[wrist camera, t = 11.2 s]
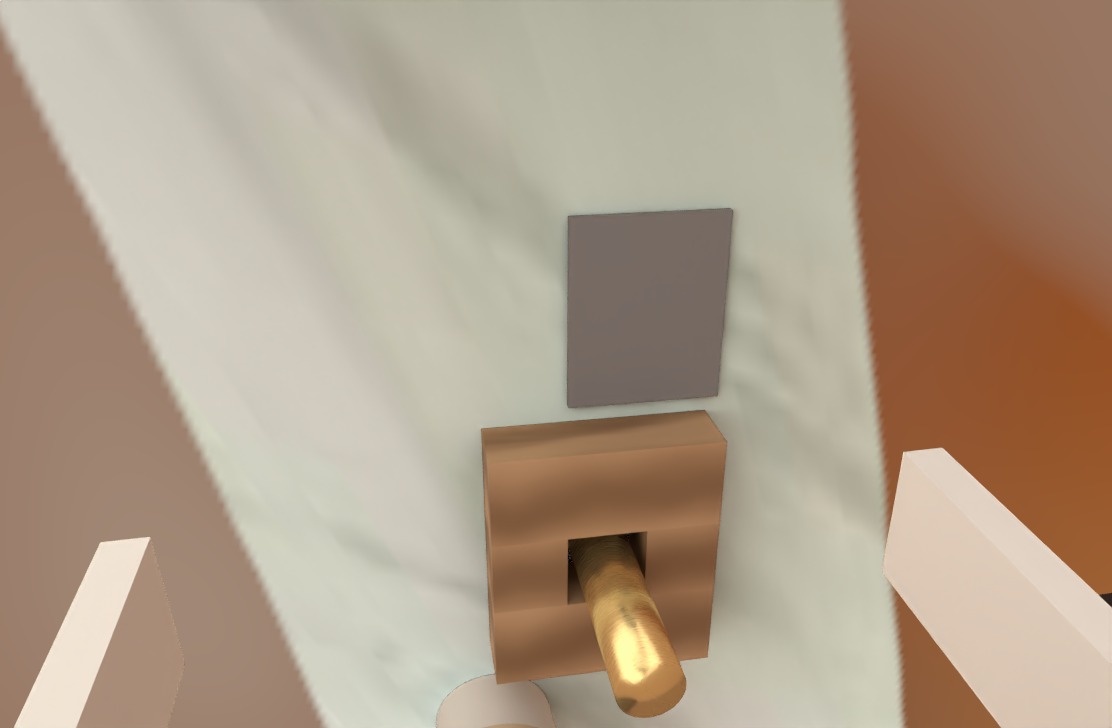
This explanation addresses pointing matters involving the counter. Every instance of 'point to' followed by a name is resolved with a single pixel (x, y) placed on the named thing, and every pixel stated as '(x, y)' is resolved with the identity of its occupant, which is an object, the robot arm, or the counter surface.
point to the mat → (646, 305)
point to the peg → (627, 626)
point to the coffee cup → (495, 706)
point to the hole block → (597, 531)
